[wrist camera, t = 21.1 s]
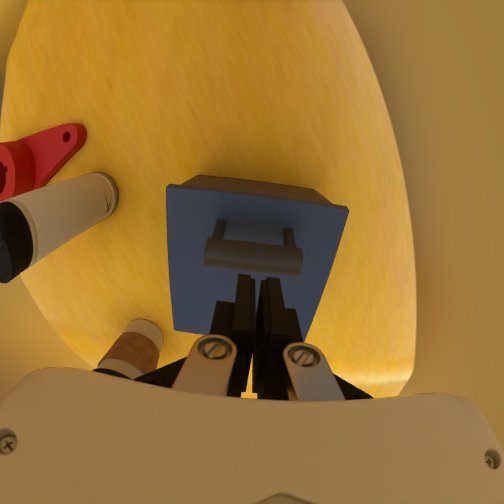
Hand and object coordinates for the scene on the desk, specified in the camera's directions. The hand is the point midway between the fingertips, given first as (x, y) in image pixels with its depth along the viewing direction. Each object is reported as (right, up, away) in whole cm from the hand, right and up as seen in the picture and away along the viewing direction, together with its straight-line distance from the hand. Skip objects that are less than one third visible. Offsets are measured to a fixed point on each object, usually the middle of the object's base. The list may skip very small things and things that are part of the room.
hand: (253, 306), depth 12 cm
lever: (-30, +16, +18) cm, 38 cm away
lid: (0, 0, +12) cm, 13 cm away
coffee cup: (-16, -10, +28) cm, 34 cm away
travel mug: (-20, +10, +20) cm, 30 cm away
